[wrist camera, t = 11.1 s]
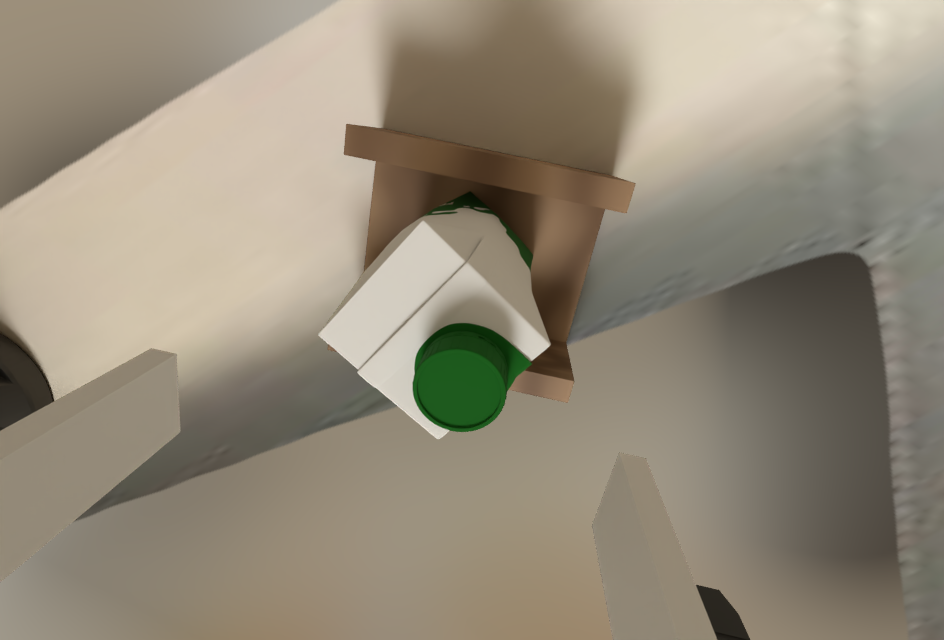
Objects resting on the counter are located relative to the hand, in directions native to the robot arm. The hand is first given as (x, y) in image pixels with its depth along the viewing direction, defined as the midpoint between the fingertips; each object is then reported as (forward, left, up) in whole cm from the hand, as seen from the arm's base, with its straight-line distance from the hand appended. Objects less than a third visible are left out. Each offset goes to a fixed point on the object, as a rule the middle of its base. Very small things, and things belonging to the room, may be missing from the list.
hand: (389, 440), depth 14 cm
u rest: (0, 0, -26) cm, 27 cm away
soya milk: (0, 0, -26) cm, 26 cm away
